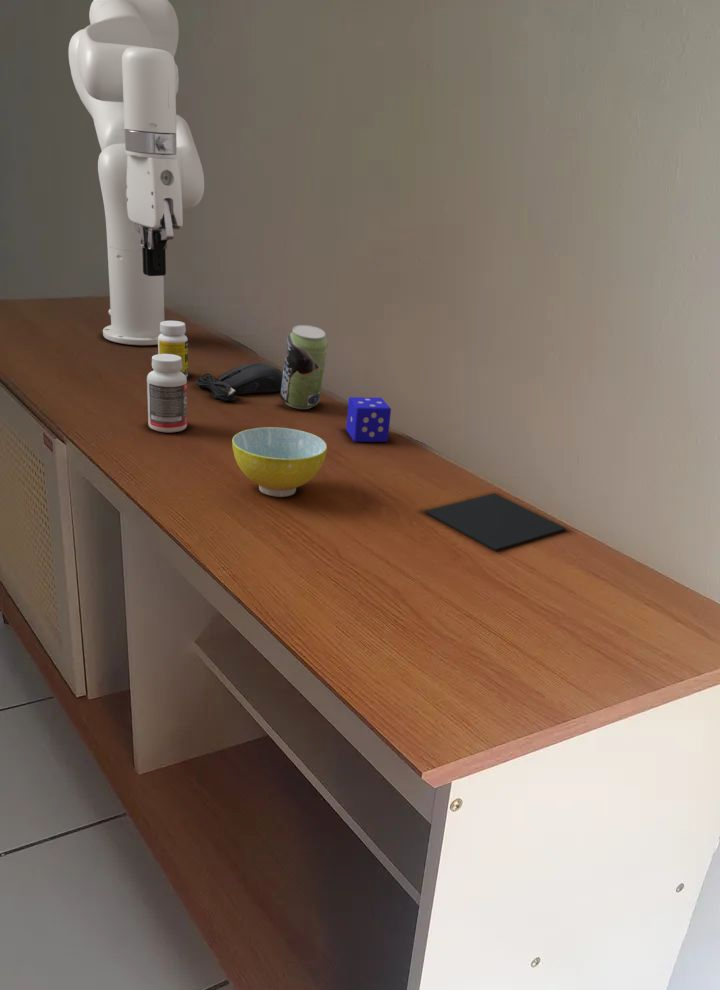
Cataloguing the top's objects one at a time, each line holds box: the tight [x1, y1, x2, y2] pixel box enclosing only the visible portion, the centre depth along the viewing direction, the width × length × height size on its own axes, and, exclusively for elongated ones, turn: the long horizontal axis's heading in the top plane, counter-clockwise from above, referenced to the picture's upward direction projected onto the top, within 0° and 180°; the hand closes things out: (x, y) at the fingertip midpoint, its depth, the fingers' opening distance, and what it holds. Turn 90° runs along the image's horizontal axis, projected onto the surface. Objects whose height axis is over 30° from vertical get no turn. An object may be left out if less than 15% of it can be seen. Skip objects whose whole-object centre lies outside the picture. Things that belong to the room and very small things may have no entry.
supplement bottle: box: [157, 320, 189, 378], centre depth 151 cm, size 5×5×8 cm
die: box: [345, 396, 392, 443], centre depth 135 cm, size 5×5×5 cm
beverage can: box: [279, 324, 329, 410], centre depth 142 cm, size 6×7×12 cm
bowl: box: [231, 426, 328, 498], centre depth 114 cm, size 11×12×6 cm
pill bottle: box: [146, 353, 188, 434], centre depth 129 cm, size 5×5×10 cm
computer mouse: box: [194, 362, 283, 402], centre depth 149 cm, size 10×15×4 cm
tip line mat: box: [424, 493, 566, 552], centre depth 113 cm, size 12×12×1 cm
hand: (154, 274), depth 149 cm, fingers closed
